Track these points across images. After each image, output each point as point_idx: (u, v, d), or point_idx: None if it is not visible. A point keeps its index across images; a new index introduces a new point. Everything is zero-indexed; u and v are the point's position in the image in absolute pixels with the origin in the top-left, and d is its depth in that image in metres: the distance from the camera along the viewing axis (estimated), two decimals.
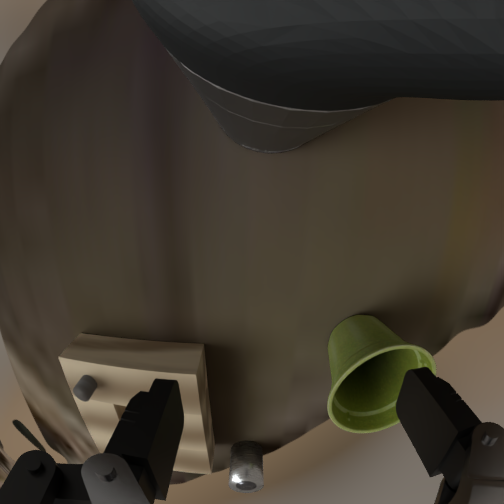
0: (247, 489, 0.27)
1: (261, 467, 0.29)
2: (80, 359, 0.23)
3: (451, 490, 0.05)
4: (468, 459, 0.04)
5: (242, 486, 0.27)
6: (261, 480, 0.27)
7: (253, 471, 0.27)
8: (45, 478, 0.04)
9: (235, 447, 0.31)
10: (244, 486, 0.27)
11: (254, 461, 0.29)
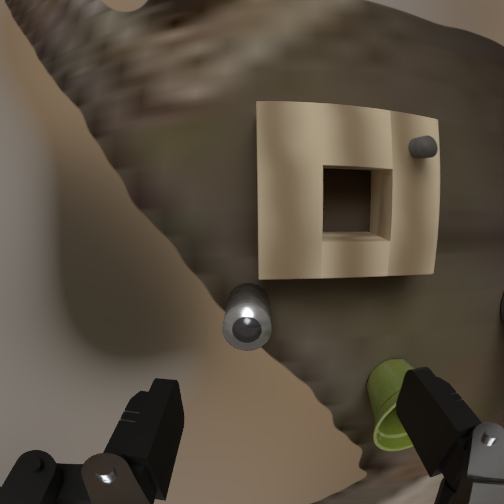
0: (234, 331, 0.24)
1: None
2: (437, 147, 0.22)
3: (451, 490, 0.05)
4: (468, 459, 0.04)
5: (244, 325, 0.24)
6: None
7: None
8: (45, 478, 0.04)
9: (263, 291, 0.29)
10: (245, 328, 0.24)
11: None
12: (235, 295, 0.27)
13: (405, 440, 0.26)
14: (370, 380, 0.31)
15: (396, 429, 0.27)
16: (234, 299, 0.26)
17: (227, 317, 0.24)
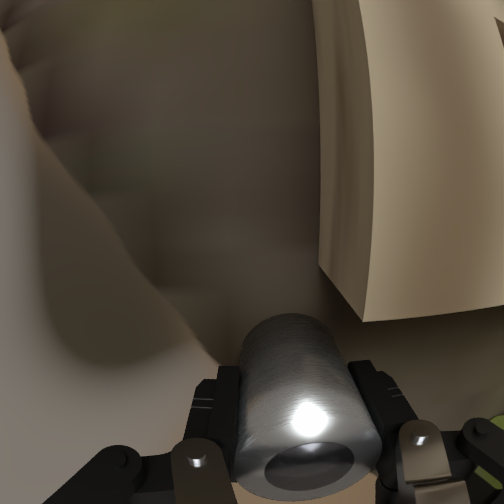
0: (272, 474, 0.06)
1: None
2: None
3: (390, 490, 0.06)
4: (401, 463, 0.05)
5: (303, 459, 0.06)
6: None
7: None
8: (132, 473, 0.05)
9: (328, 334, 0.11)
10: (305, 466, 0.06)
11: None
12: (265, 354, 0.09)
13: None
14: None
15: None
16: (265, 370, 0.08)
17: (251, 447, 0.06)
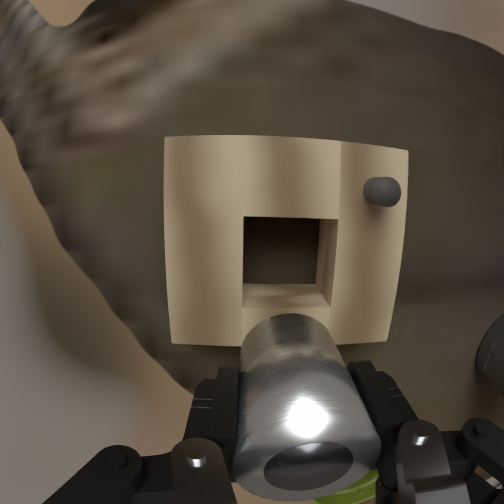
0: (271, 474, 0.06)
1: None
2: (405, 187, 0.18)
3: (390, 490, 0.06)
4: (401, 463, 0.05)
5: (303, 459, 0.06)
6: None
7: None
8: (132, 473, 0.05)
9: (328, 334, 0.11)
10: (304, 466, 0.06)
11: None
12: (264, 354, 0.09)
13: (350, 497, 0.22)
14: None
15: None
16: (264, 370, 0.08)
17: (250, 447, 0.06)
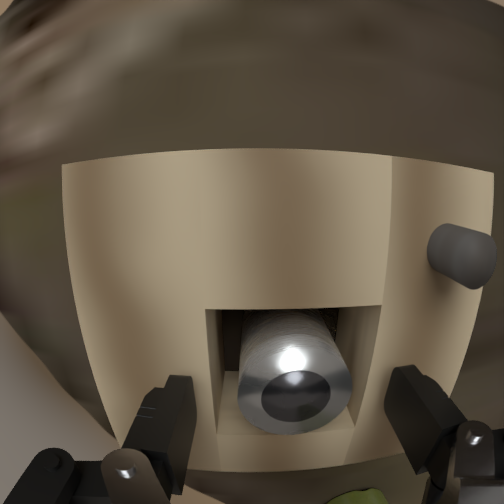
0: (267, 401, 0.09)
1: None
2: None
3: (438, 489, 0.05)
4: (453, 459, 0.04)
5: (291, 388, 0.09)
6: None
7: None
8: (63, 476, 0.04)
9: None
10: (292, 394, 0.09)
11: None
12: (261, 313, 0.12)
13: None
14: None
15: None
16: (261, 323, 0.12)
17: (251, 373, 0.09)
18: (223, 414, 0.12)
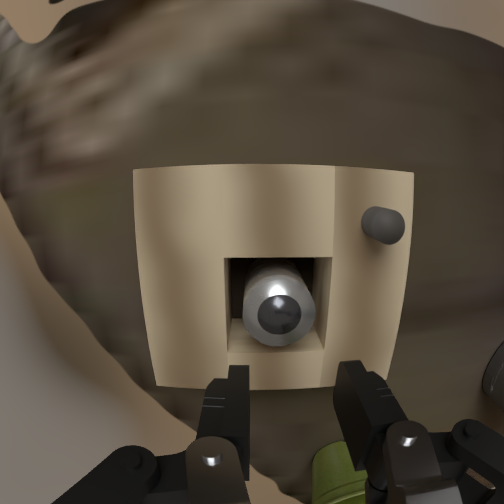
0: (261, 317, 0.16)
1: None
2: (410, 215, 0.16)
3: (380, 491, 0.06)
4: (390, 465, 0.05)
5: (275, 307, 0.16)
6: None
7: None
8: (147, 473, 0.05)
9: (293, 265, 0.21)
10: (276, 312, 0.16)
11: None
12: (258, 267, 0.19)
13: None
14: (314, 461, 0.25)
15: None
16: (257, 272, 0.18)
17: (251, 296, 0.16)
18: (231, 342, 0.19)
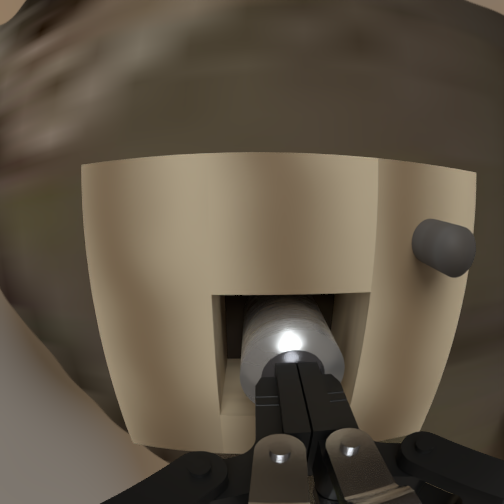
0: None
1: None
2: (469, 231, 0.11)
3: (331, 501, 0.06)
4: (336, 479, 0.05)
5: None
6: None
7: None
8: (218, 479, 0.05)
9: (309, 294, 0.15)
10: None
11: None
12: (262, 301, 0.14)
13: None
14: None
15: None
16: (262, 310, 0.13)
17: (252, 352, 0.10)
18: (226, 397, 0.14)
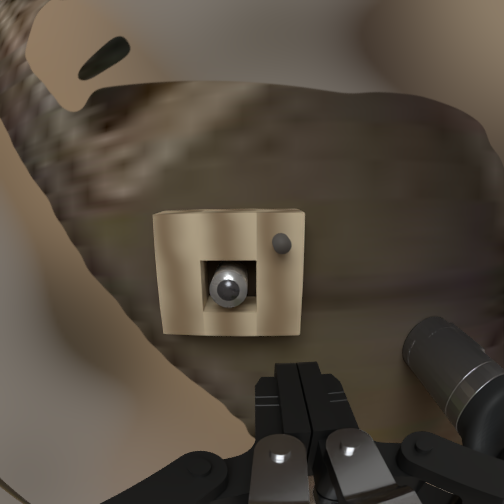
0: (219, 291, 0.32)
1: None
2: (303, 237, 0.32)
3: (331, 501, 0.06)
4: (335, 479, 0.05)
5: (226, 286, 0.32)
6: (237, 304, 0.32)
7: None
8: (218, 479, 0.05)
9: (243, 264, 0.37)
10: (226, 288, 0.32)
11: None
12: (220, 265, 0.35)
13: None
14: None
15: None
16: (219, 268, 0.34)
17: (213, 279, 0.31)
18: (206, 307, 0.35)
